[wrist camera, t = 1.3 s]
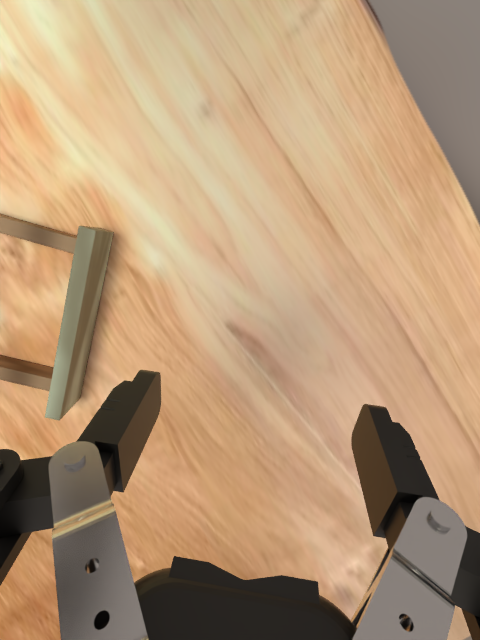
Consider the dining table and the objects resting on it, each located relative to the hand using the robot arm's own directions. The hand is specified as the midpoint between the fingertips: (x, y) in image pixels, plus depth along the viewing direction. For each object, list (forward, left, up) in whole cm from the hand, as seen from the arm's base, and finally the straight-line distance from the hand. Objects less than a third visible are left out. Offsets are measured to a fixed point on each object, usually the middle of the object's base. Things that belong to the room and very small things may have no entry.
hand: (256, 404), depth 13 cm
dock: (-14, -16, -25) cm, 32 cm away
